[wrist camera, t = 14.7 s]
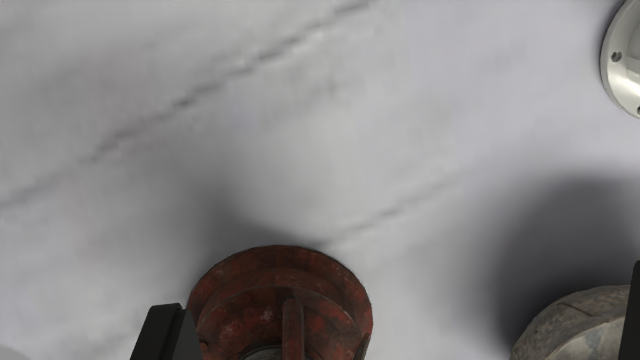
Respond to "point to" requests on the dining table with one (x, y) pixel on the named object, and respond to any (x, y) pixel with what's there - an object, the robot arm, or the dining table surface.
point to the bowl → (577, 327)
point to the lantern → (281, 307)
